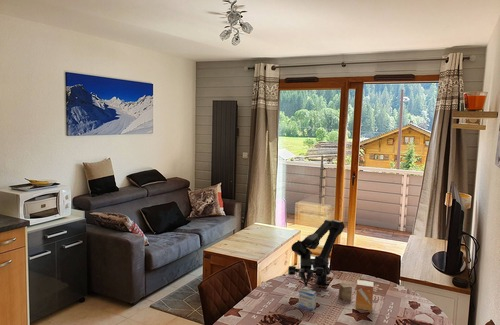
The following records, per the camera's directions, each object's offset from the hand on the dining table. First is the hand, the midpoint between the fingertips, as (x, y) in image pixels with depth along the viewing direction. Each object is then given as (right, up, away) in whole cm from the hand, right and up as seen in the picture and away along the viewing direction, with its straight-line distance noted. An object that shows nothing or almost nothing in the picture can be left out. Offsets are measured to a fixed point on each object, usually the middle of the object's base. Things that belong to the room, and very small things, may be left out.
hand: (305, 286), depth 205 cm
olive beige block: (+22, -8, +6) cm, 24 cm away
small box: (+29, -9, -5) cm, 31 cm away
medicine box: (0, -9, -6) cm, 11 cm away
